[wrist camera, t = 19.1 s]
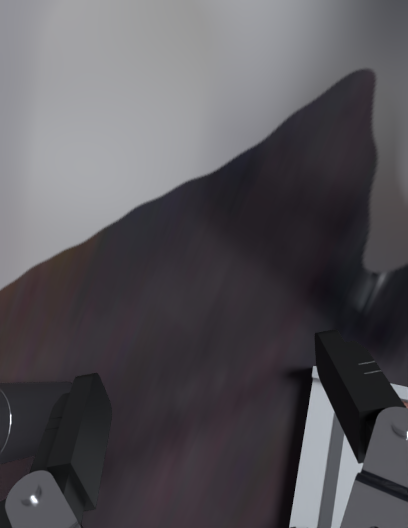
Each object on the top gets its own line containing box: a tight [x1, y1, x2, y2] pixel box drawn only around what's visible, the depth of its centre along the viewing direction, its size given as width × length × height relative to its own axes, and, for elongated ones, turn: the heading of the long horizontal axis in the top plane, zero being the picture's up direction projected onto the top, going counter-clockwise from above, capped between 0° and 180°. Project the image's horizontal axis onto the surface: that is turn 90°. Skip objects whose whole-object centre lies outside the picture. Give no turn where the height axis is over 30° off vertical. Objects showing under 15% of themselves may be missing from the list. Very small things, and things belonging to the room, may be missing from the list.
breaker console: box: [289, 366, 408, 528], centre depth 38 cm, size 24×20×6 cm
